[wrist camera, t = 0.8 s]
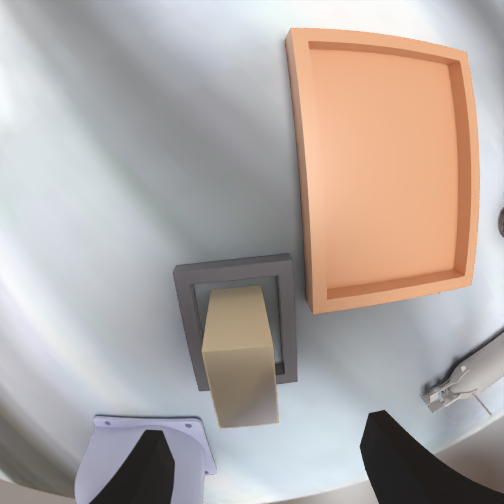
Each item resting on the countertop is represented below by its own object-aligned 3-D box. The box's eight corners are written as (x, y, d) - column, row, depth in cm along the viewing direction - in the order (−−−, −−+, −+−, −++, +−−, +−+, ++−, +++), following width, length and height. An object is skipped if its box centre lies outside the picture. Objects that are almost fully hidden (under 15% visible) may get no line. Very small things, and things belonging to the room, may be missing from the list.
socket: (200, 380, 21) (199, 391, 20) (176, 265, 19) (173, 272, 17) (294, 370, 21) (297, 381, 20) (289, 253, 19) (292, 259, 18)
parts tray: (305, 299, 20) (313, 314, 18) (284, 40, 15) (290, 27, 13) (455, 275, 20) (471, 285, 18) (449, 57, 15) (466, 52, 13)
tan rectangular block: (222, 357, 21) (219, 428, 14) (210, 290, 19) (201, 351, 13) (266, 353, 21) (278, 423, 14) (260, 285, 19) (273, 344, 13)
